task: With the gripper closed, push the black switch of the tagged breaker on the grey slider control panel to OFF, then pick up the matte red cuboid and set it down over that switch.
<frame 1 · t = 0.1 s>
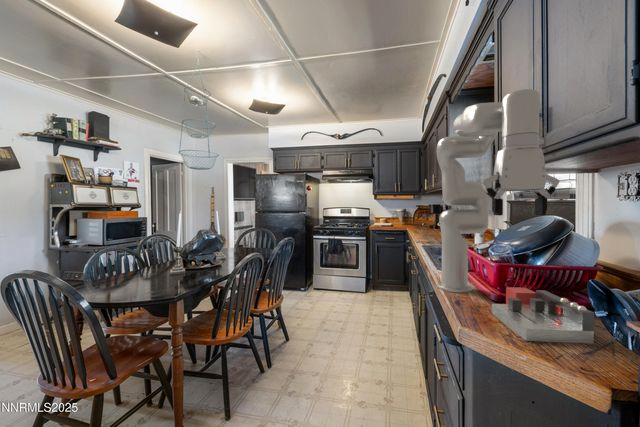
hand: (518, 215, 71), 31 cm above the counter, tool pointing down, fingers open, 9 cm apart
matte red cuboid: (520, 308, 93), on the counter
breaker b: (537, 304, 83), point 5 cm above the counter, slide at 0.0 cm
grey slider control panel: (536, 326, 79), on the counter
breaker a: (514, 304, 84), point 5 cm above the counter, slide at 0.0 cm
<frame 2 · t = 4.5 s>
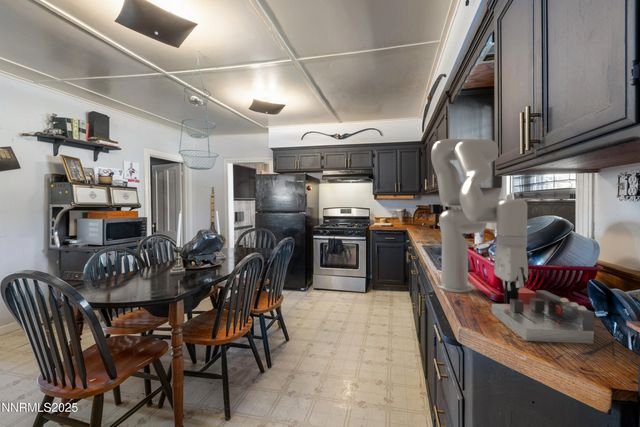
hand: (510, 303, 86), 4 cm above the counter, tool pointing down, fingers closed
breaker a: (516, 305, 83), point 5 cm above the counter, slide at 1.0 cm, touching gripper
everything else where it was.
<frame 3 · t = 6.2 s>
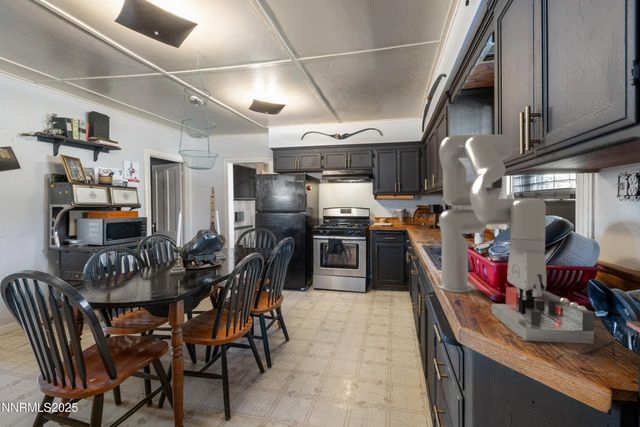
hand: (526, 313, 78), 4 cm above the counter, tool pointing down, fingers closed
breaker a: (533, 315, 75), point 5 cm above the counter, slide at 8.7 cm, touching gripper
everything else where it was.
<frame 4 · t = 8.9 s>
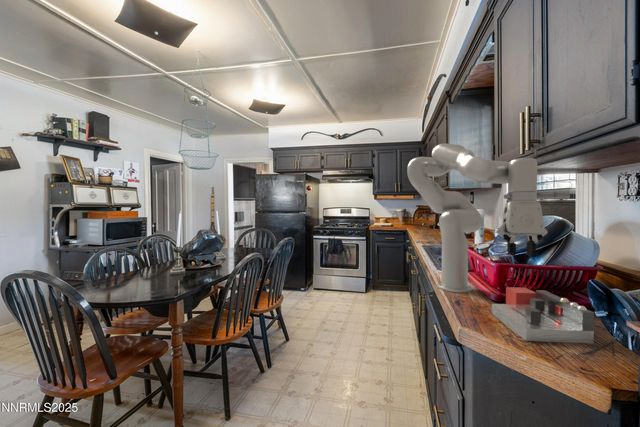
hand: (521, 254, 92), 17 cm above the counter, tool pointing down, fingers open, 4 cm apart
breaker a: (532, 315, 75), point 5 cm above the counter, slide at 8.6 cm
everything else where it was.
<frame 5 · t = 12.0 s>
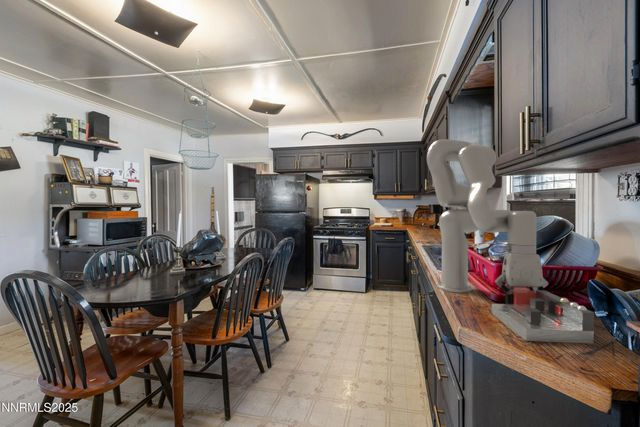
hand: (520, 305, 93), 1 cm above the counter, tool pointing down, fingers closed on matte red cuboid, 6 cm apart
matte red cuboid: (520, 308, 93), on the counter, touching gripper
everything else where it was.
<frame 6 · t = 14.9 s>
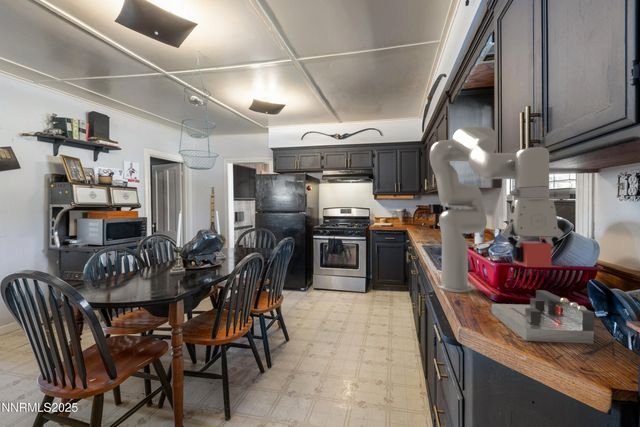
hand: (531, 260, 78), 18 cm above the counter, tool pointing down, fingers closed on matte red cuboid, 6 cm apart
matte red cuboid: (531, 264, 78), point 17 cm above the counter, touching gripper
everything else where it was.
when the fingers open (5 cm above the counter, at t = 18.0 s): matte red cuboid drops 1 cm, resting on grey slider control panel.
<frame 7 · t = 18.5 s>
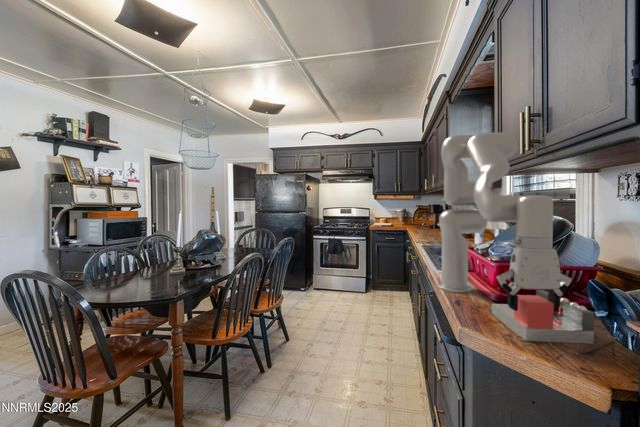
hand: (532, 309, 75), 6 cm above the counter, tool pointing down, fingers open, 9 cm apart
matte red cuboid: (532, 321, 75), point 3 cm above the counter, touching grey slider control panel
everything else where it was.
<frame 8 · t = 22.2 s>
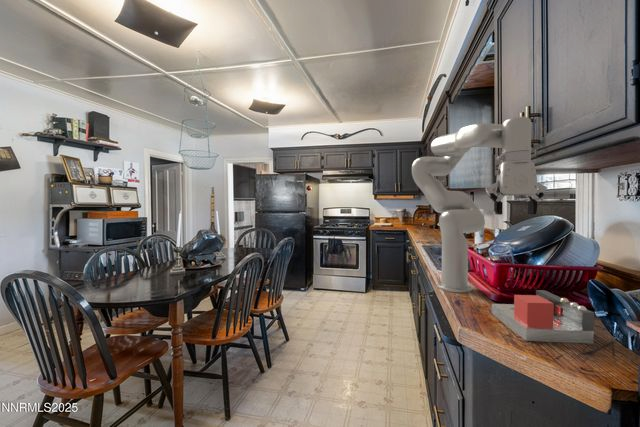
hand: (515, 214, 90), 30 cm above the counter, tool pointing down, fingers open, 9 cm apart
nothing on the counter moved.
at the end: breaker a slide at 8.6 cm; matte red cuboid 0.0 cm from the target spot, point 3.0 cm above the counter; matte red cuboid tilted 1° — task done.
